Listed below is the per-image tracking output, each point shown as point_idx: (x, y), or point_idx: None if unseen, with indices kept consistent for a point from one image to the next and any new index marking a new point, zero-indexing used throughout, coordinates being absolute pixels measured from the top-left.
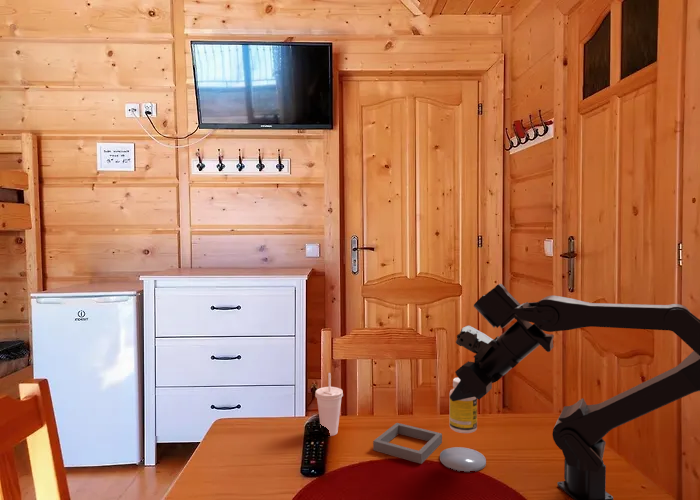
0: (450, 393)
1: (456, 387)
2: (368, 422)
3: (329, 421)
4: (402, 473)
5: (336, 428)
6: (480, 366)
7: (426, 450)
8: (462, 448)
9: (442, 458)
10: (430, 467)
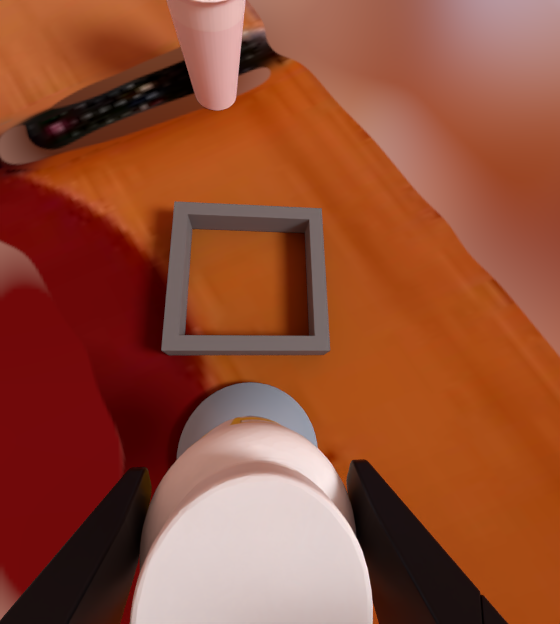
0: (191, 451)
1: (7, 617)
2: (321, 144)
3: (187, 64)
4: (94, 331)
5: (212, 97)
6: None
7: (201, 351)
8: (306, 430)
9: (211, 401)
10: (162, 384)
